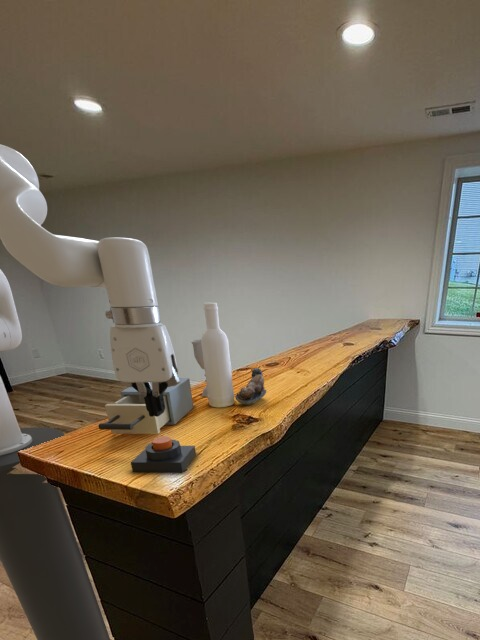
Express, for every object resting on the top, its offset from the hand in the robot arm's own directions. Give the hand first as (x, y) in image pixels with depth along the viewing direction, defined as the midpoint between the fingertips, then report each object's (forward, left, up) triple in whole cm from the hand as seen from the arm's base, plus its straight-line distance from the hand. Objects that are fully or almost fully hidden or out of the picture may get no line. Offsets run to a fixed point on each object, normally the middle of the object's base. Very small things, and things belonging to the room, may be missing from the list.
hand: (157, 414), depth 69 cm
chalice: (-6, +50, -11) cm, 52 cm away
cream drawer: (-13, +16, -10) cm, 23 cm away
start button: (0, 0, -7) cm, 7 cm away
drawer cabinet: (-13, +29, -11) cm, 34 cm away
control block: (0, 0, -11) cm, 11 cm away
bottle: (+1, +40, -11) cm, 41 cm away
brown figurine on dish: (+10, +42, -11) cm, 44 cm away
